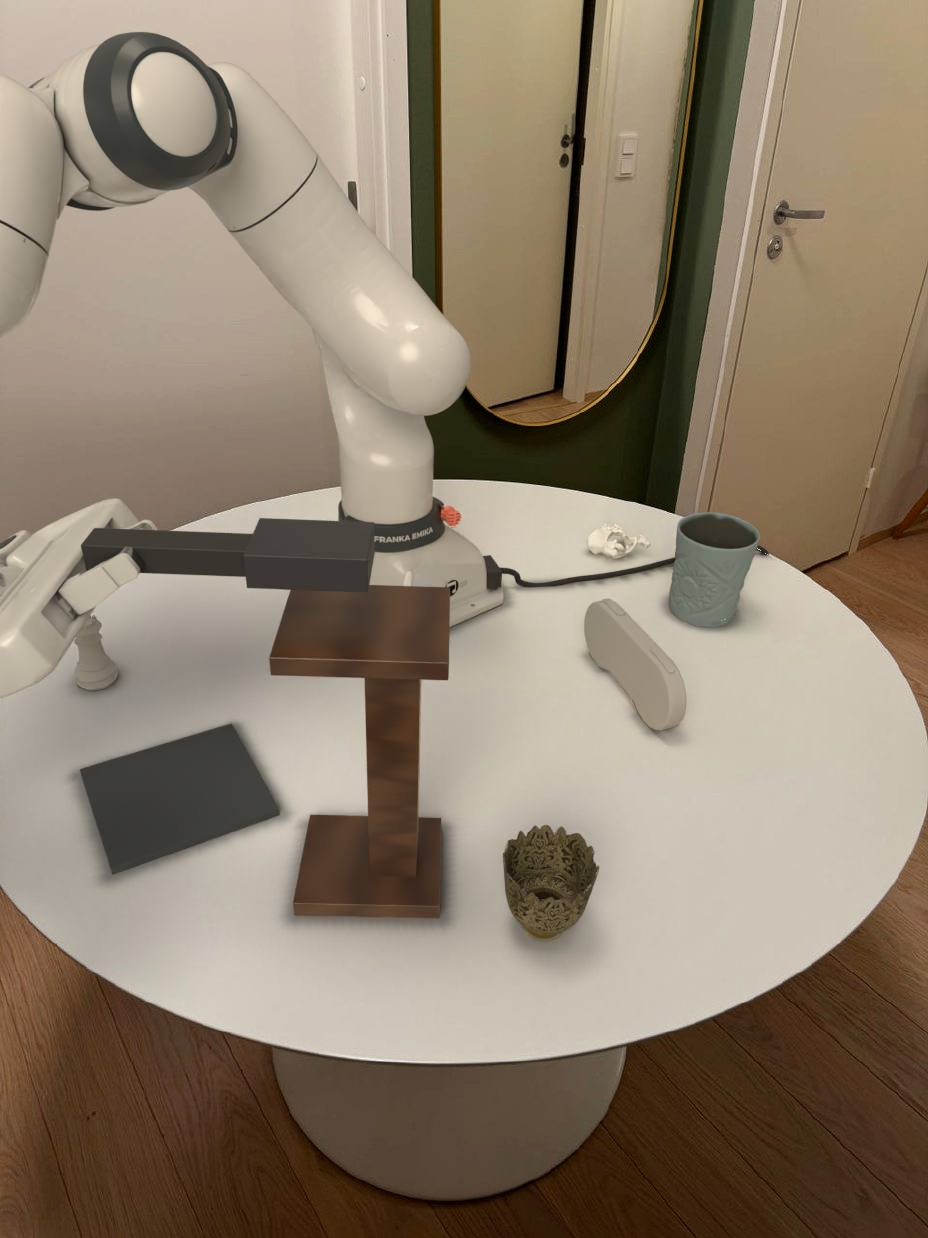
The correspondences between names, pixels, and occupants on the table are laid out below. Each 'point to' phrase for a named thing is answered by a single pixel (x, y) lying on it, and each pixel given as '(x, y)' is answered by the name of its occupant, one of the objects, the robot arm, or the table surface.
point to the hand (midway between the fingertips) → (145, 545)
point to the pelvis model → (600, 544)
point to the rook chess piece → (93, 658)
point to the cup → (548, 880)
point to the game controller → (635, 664)
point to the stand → (372, 745)
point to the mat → (175, 796)
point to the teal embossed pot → (710, 567)
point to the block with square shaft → (253, 553)
